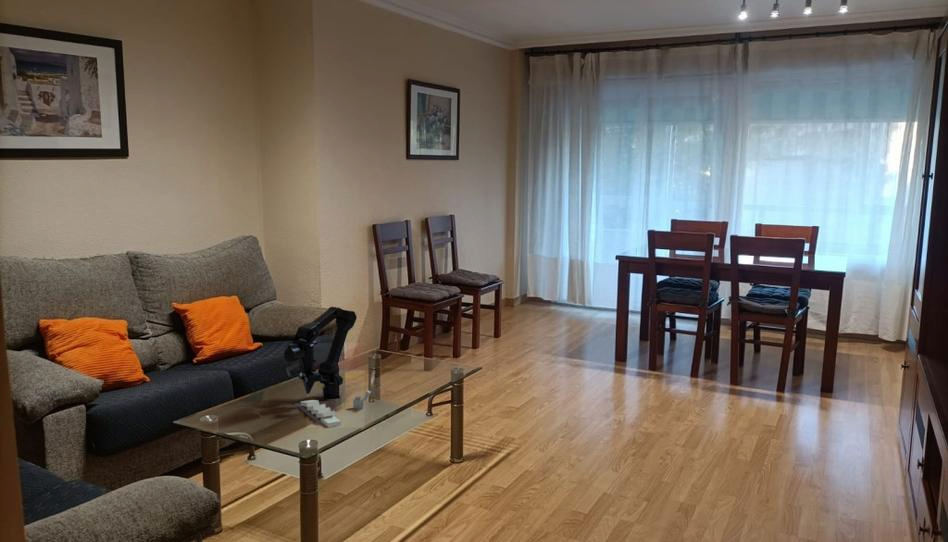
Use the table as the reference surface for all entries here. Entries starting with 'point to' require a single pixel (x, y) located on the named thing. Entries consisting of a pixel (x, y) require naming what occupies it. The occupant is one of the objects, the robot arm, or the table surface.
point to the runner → (309, 413)
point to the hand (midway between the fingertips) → (307, 393)
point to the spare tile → (309, 403)
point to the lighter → (360, 401)
